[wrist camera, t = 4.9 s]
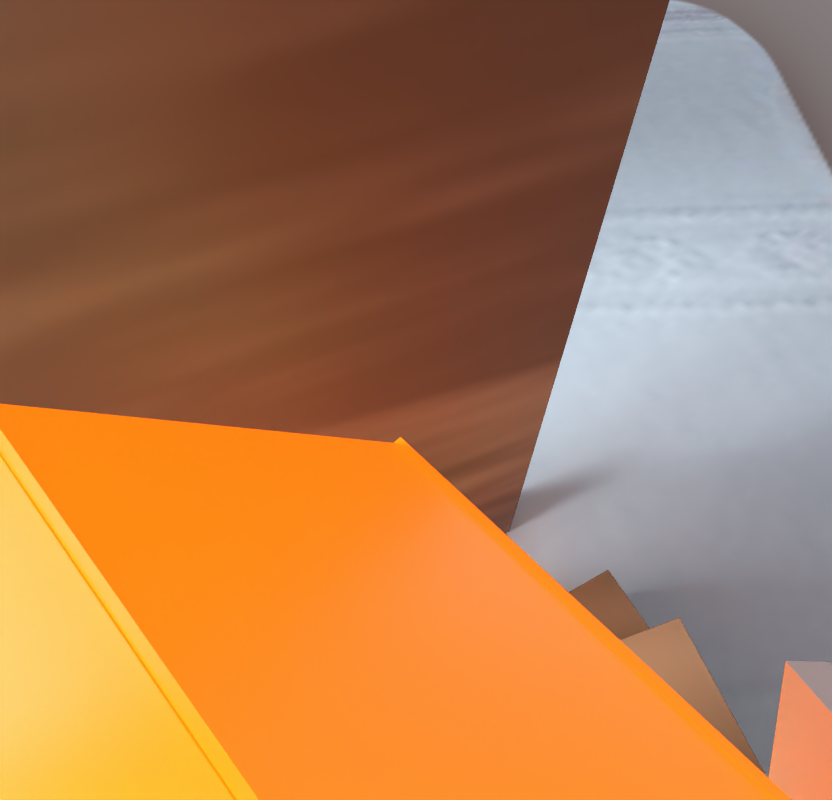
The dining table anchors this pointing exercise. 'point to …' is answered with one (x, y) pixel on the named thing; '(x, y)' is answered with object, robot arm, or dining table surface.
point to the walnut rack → (322, 226)
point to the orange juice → (303, 633)
